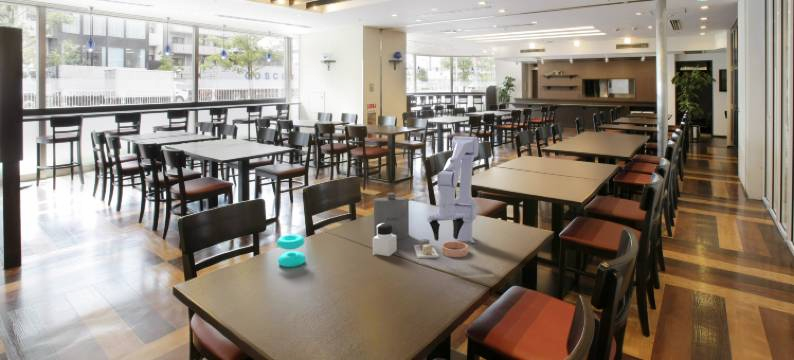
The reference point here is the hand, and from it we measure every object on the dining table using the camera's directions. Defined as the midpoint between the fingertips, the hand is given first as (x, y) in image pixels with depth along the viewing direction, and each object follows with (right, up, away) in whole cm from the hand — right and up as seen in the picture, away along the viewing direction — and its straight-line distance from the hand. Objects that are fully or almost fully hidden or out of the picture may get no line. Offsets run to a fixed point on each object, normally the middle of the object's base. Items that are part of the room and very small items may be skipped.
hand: (445, 239), depth 172 cm
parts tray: (-7, -7, +8) cm, 13 cm away
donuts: (-57, -9, +1) cm, 58 cm away
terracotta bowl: (+4, -7, +8) cm, 11 cm away
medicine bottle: (-23, -7, +9) cm, 26 cm away
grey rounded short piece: (-7, -5, +11) cm, 14 cm away
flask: (-20, -3, +27) cm, 34 cm away
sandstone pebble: (-7, -7, +5) cm, 11 cm away
